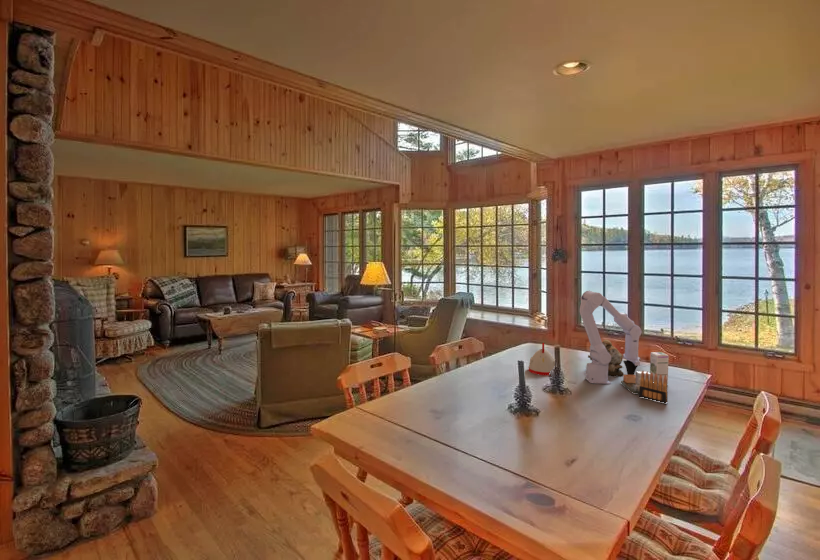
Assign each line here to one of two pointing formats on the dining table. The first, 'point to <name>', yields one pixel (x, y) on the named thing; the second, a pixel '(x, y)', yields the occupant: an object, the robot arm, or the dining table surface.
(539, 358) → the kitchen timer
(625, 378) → the block
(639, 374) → the steel block
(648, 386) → the ammunition clip
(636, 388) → the vise
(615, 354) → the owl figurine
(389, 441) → the dining table surface
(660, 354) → the syrup box
